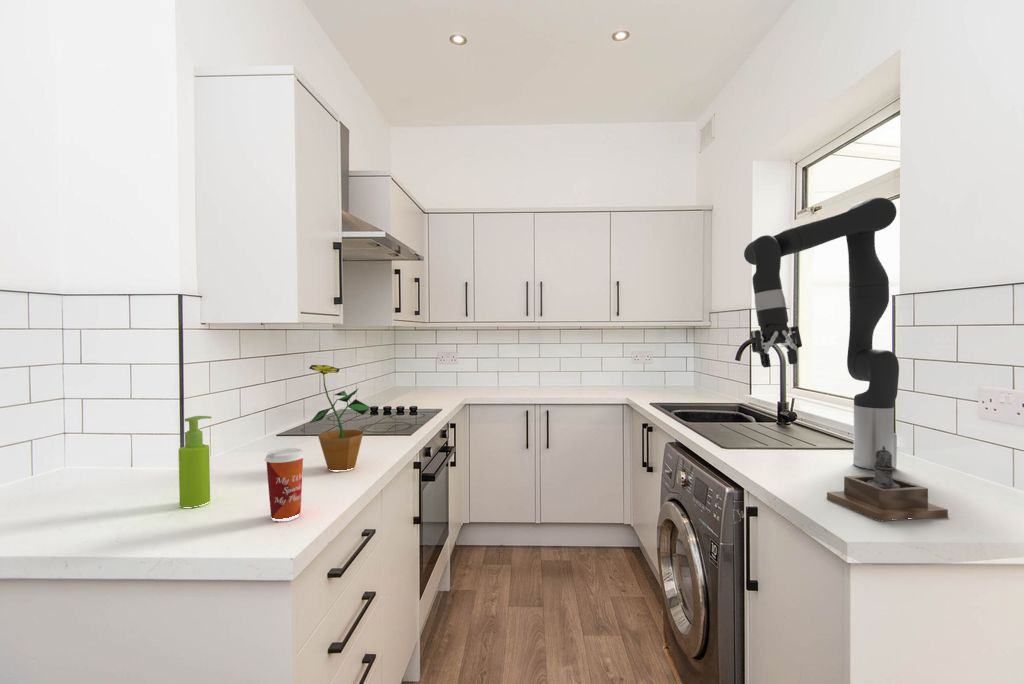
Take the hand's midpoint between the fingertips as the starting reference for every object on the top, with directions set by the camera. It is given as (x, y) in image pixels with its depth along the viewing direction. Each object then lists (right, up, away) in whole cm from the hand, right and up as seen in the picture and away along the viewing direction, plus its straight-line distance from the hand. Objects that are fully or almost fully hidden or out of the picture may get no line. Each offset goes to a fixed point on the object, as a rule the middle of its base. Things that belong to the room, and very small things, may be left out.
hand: (780, 365), depth 138 cm
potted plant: (-123, -30, +5) cm, 126 cm away
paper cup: (-122, -31, -32) cm, 130 cm away
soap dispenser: (-147, -31, -23) cm, 152 cm away
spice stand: (+8, -30, -28) cm, 42 cm away
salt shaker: (+7, -28, -28) cm, 41 cm away
